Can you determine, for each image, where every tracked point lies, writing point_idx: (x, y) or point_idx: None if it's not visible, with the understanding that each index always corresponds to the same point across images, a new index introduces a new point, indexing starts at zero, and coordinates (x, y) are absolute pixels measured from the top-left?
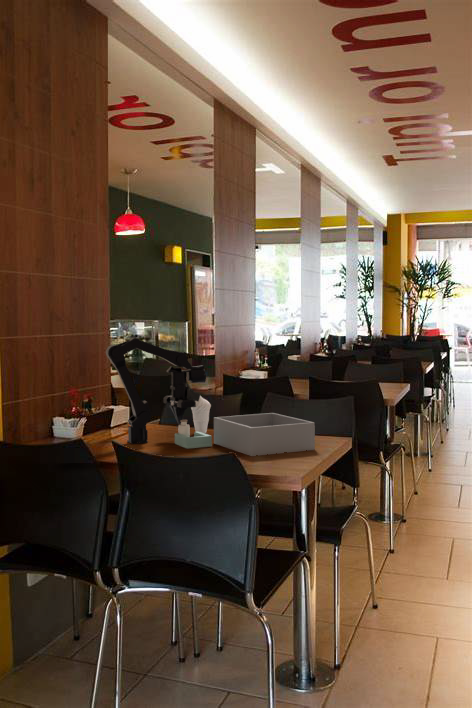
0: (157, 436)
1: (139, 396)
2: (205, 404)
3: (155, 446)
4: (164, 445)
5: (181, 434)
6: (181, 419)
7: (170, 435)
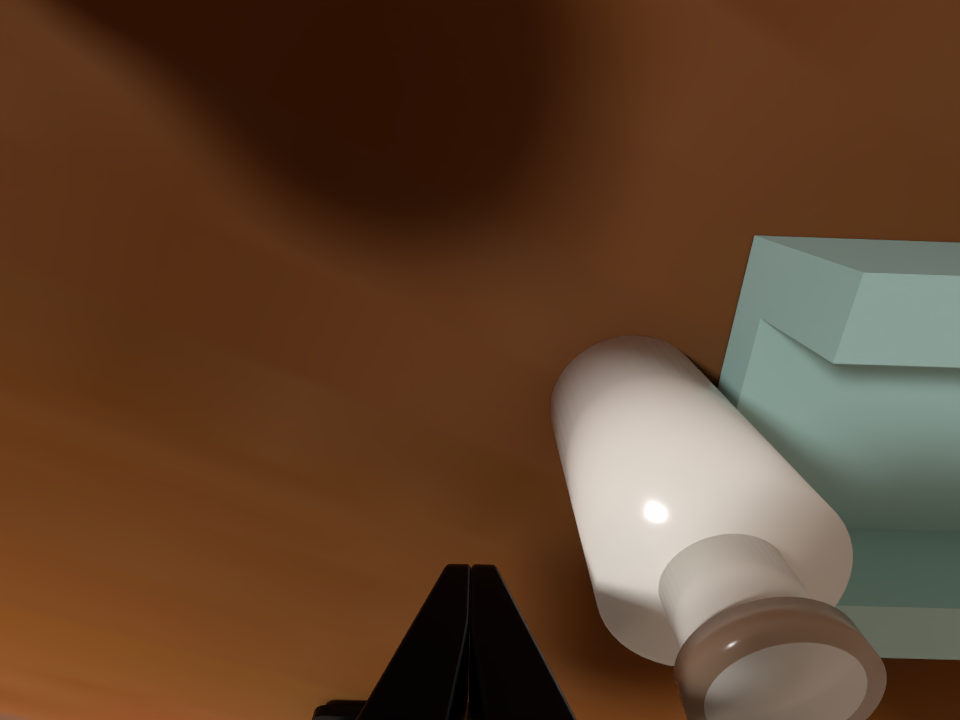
0: (78, 509)
1: None
2: None
3: (672, 704)
4: None
5: (887, 619)
6: (527, 648)
7: (34, 350)
